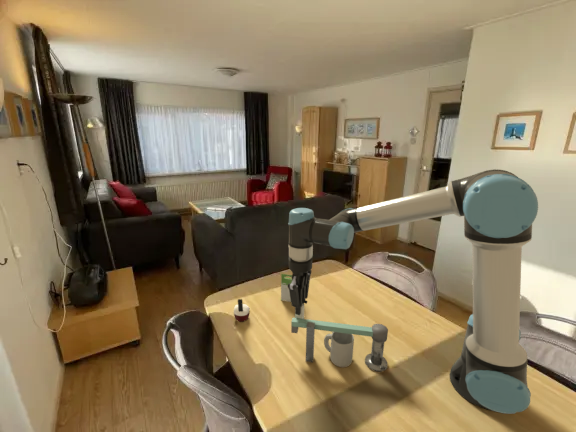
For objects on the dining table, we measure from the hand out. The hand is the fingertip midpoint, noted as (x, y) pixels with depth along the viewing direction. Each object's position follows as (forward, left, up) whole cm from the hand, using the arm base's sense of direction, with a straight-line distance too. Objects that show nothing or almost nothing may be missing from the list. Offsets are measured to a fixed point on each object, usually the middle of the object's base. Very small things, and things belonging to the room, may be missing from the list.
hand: (299, 320), depth 96 cm
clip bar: (-12, -6, -3) cm, 13 cm away
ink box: (+24, -17, -11) cm, 32 cm away
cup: (-12, -6, -11) cm, 17 cm away
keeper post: (-6, +1, -11) cm, 13 cm away
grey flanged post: (-22, -14, -11) cm, 28 cm away
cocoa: (+26, +7, -11) cm, 29 cm away
